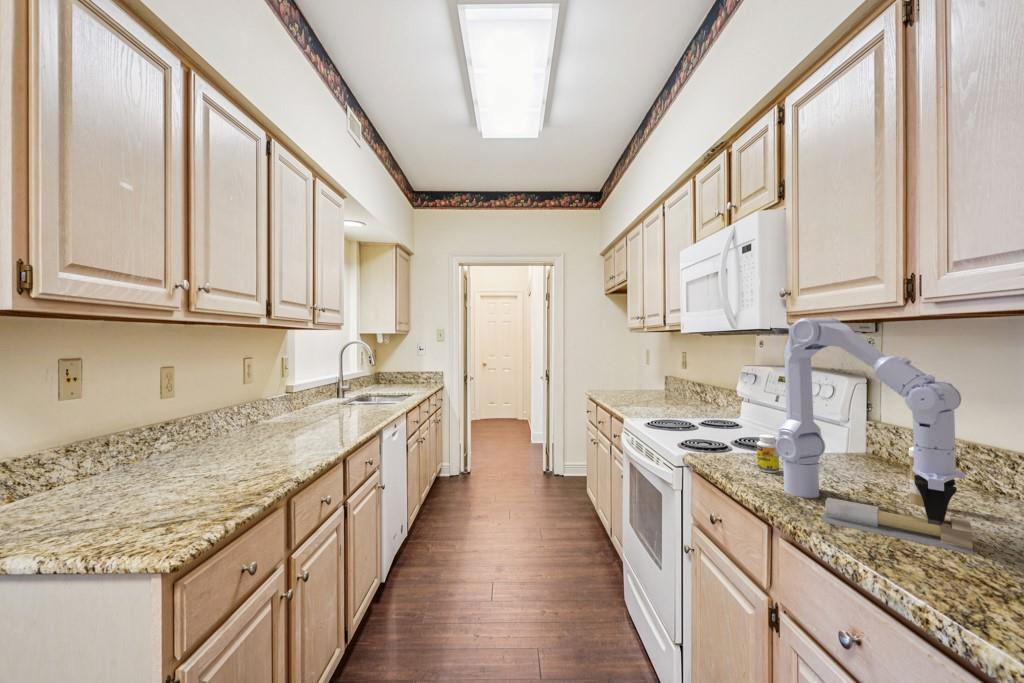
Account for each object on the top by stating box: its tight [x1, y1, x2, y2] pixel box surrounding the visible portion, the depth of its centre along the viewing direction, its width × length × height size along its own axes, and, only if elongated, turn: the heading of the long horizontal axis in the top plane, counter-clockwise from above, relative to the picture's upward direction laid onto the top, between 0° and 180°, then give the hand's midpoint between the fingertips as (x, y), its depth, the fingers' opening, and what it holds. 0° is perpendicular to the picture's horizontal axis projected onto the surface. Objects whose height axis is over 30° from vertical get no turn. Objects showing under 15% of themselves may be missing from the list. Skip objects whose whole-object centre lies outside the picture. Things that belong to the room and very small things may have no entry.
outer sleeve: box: [824, 497, 879, 528], centre depth 91 cm, size 3×8×3 cm, turn 48°
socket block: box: [940, 516, 974, 549], centre depth 81 cm, size 5×4×4 cm
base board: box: [820, 509, 975, 555], centre depth 87 cm, size 10×22×1 cm, turn 48°
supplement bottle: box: [756, 434, 780, 474], centre depth 128 cm, size 6×6×10 cm
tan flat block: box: [877, 510, 952, 536], centre depth 85 cm, size 2×12×7 cm, turn 48°
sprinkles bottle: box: [908, 446, 925, 508], centre depth 98 cm, size 5×5×14 cm
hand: (935, 517), depth 82 cm, fingers closed on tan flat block, 2 cm apart
